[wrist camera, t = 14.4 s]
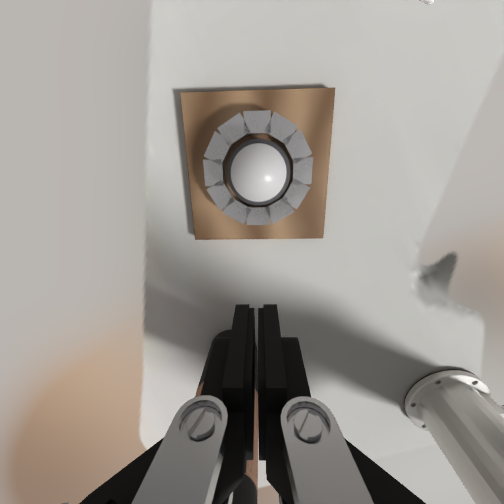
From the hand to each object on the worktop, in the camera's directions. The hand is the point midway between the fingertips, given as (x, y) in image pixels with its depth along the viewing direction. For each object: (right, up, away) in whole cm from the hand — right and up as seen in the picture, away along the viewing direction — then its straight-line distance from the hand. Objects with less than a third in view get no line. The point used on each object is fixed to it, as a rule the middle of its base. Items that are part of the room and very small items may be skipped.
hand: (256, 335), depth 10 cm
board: (+1, +13, +19) cm, 23 cm away
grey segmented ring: (+1, +13, +18) cm, 22 cm away
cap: (+1, +13, +18) cm, 22 cm away
